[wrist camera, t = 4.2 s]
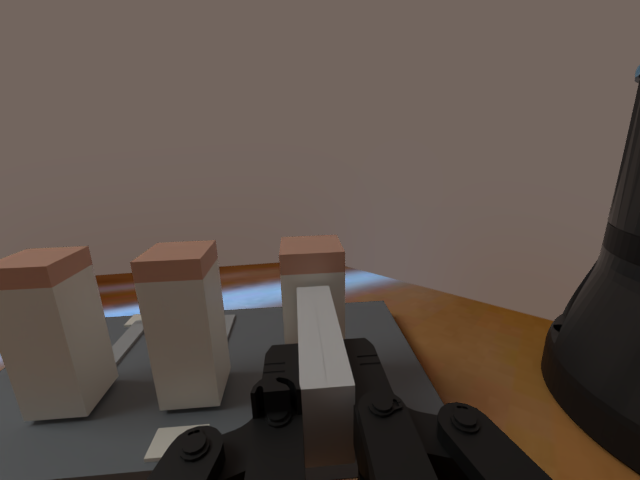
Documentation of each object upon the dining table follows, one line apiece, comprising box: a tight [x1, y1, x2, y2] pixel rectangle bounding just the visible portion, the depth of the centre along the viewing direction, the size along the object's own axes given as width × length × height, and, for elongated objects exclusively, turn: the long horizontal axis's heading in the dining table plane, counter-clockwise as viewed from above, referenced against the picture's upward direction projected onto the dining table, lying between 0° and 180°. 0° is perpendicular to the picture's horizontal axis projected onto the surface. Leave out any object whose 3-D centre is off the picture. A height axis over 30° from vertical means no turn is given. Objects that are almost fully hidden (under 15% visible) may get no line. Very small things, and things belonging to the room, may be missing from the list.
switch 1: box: [130, 240, 231, 411], centre depth 17 cm, size 3×3×8 cm
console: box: [0, 301, 444, 480], centre depth 21 cm, size 26×14×2 cm, turn 94°
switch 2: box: [279, 235, 345, 344], centre depth 17 cm, size 3×3×8 cm
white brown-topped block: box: [0, 246, 119, 421], centre depth 16 cm, size 3×3×8 cm
